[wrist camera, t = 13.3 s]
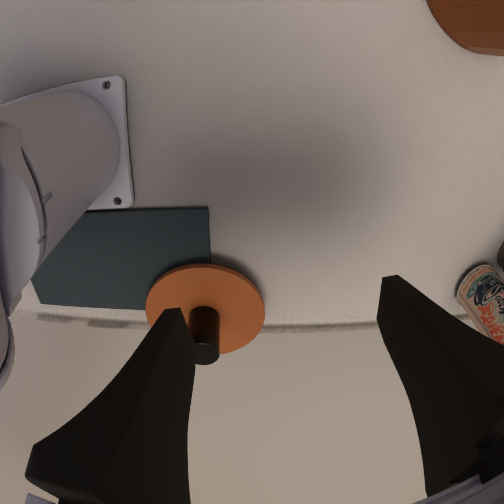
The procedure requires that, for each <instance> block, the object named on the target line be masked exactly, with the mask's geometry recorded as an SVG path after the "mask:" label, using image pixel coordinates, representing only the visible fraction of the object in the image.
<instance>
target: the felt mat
mask: <svg viewBox="0 0 504 504" xmlns="http://www.w3.org/2000/svg"><path fill="white" fill-rule="evenodd" d="M189 264H211V260H210V238H209V213H208V207H189V208H148V209H121V210H99V211H85V213H84V214H83V215H82V216H81V217H80V218H79V219H78V220H77V222H76V223H75V224H74V225H73V226H72V227H71V228H70V230H69V231H68V232H67V233H66V234H65V236H64V237H63V238H62V239H61V240H60V241H59V243H58V244H57V245H56V246H55V248H54V249H53V250H52V251H51V253H50V254H49V255H48V256H47V258H46V259H45V260H44V261H43V263H42V264H41V265H40V267H39V268H38V269H37V271H36V272H35V273H34V275H33V276H32V277H31V281H32V284H33V286H34V289H35V291H36V293H37V296H38V298H39V300H40V303H41V304H50V305H63V306H77V307H93V308H111V309H135V310H146V308H145V307H146V300H147V296H148V293H149V291H150V289H151V287H152V285H153V284H154V283H155V281H156V280H157V279H158V278H159V277H161V276H162V275H163V274H165V273H166V272H168V271H170V270H172V269H175V268H177V267H180V266H184V265H189Z"/></svg>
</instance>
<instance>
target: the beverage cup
mask: <svg viewBox="0 0 504 504" xmlns="http://www.w3.org/2000/svg"><path fill="white" fill-rule="evenodd" d="M498 264H499V266H500V267H501V268H502V269H503V271H504V243H503V244H502V247H501V249H500V252H499V255H498Z"/></svg>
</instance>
